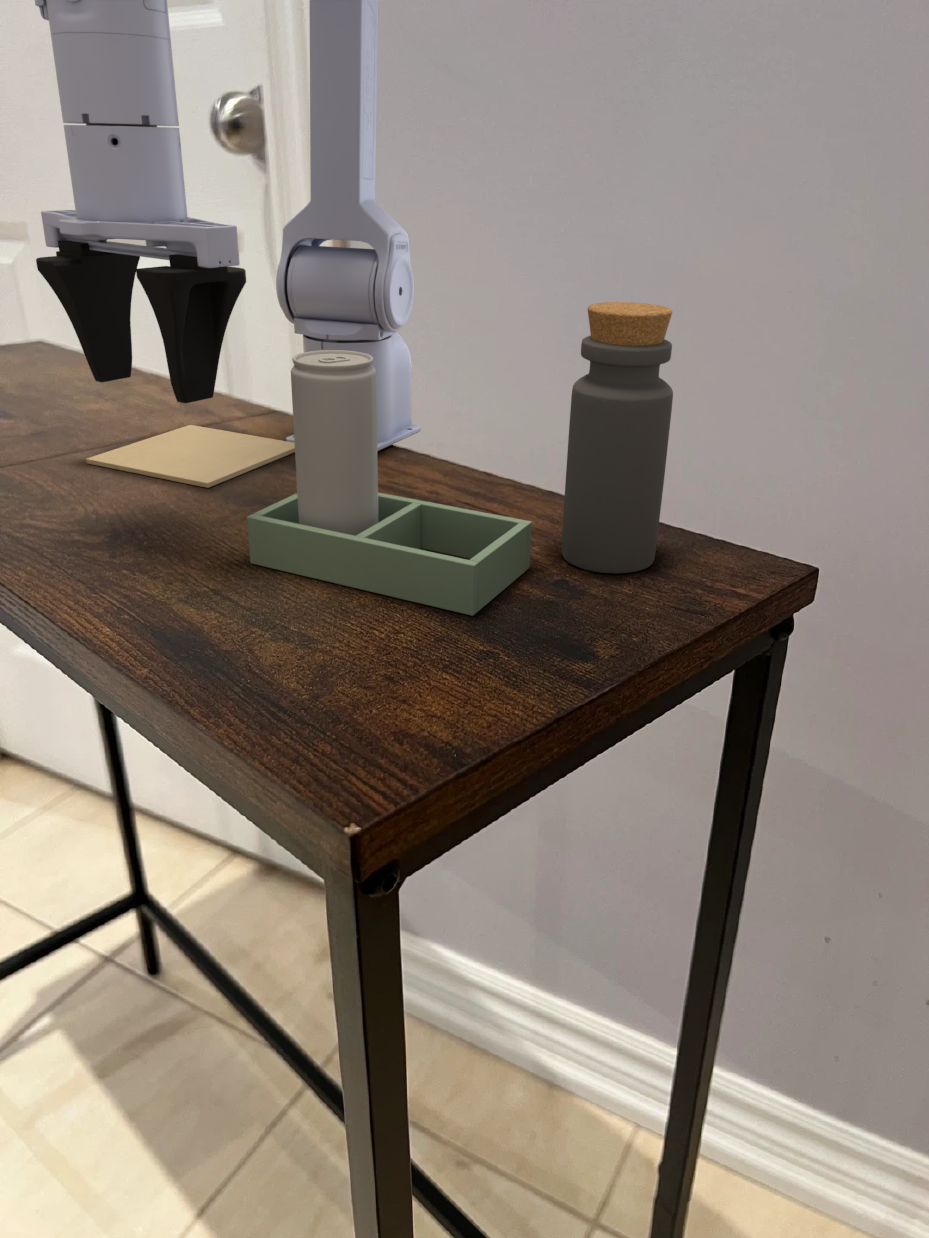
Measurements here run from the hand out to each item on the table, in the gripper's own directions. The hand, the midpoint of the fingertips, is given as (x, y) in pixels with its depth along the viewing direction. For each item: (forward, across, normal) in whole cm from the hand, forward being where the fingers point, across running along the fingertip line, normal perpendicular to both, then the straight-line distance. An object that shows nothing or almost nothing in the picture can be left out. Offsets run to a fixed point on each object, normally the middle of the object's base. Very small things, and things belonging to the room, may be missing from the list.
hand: (152, 389), depth 57 cm
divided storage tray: (+10, +12, +7) cm, 17 cm away
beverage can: (+10, +9, +6) cm, 15 cm away
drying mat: (+10, -14, +14) cm, 22 cm away
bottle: (+10, +22, +16) cm, 29 cm away
